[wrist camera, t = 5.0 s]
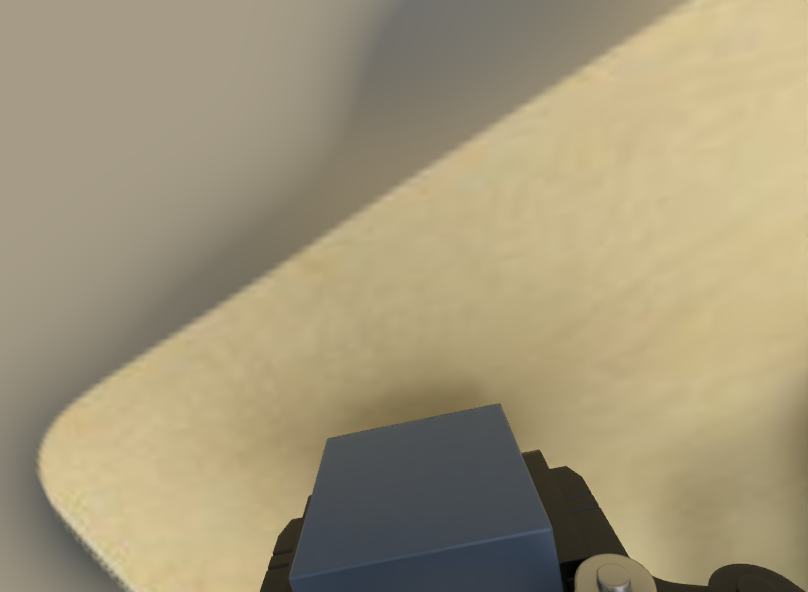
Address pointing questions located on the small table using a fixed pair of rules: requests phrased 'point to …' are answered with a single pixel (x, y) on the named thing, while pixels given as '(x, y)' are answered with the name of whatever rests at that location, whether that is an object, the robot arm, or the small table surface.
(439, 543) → the block
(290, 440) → the small table surface
